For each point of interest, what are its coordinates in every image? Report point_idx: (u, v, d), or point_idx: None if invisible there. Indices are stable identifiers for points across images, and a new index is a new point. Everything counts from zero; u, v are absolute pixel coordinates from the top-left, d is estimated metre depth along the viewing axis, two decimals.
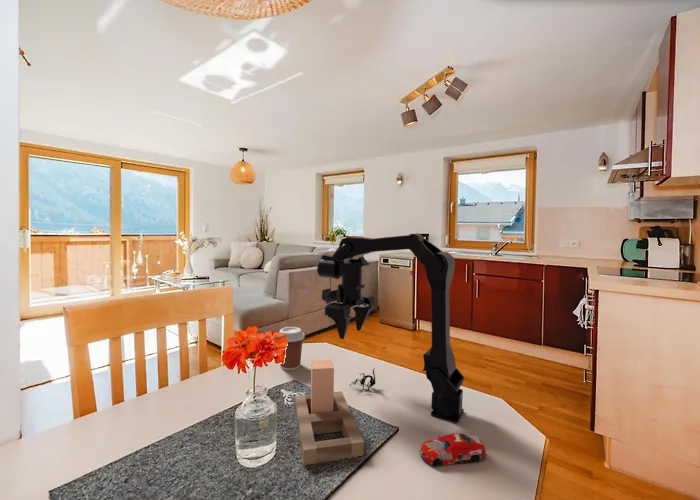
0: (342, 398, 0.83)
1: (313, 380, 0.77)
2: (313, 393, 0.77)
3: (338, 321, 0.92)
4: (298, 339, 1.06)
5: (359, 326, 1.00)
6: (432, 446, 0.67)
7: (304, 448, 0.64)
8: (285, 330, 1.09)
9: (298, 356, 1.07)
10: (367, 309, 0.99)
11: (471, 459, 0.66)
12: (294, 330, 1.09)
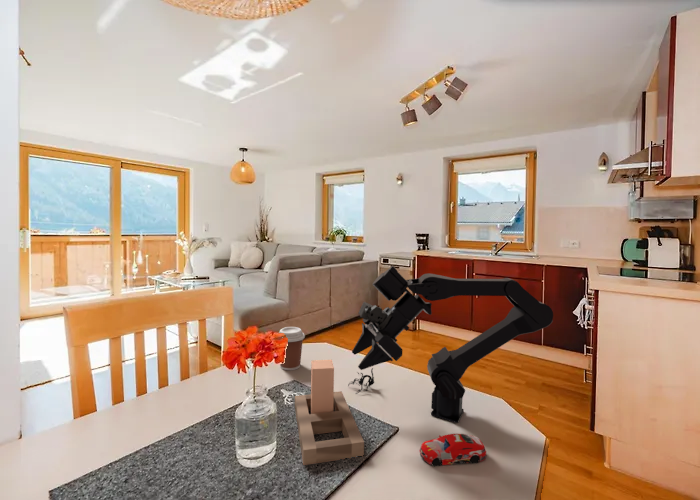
0: (342, 398, 0.83)
1: (313, 380, 0.77)
2: (313, 393, 0.77)
3: (375, 352, 0.75)
4: (298, 339, 1.06)
5: (358, 350, 0.85)
6: (432, 446, 0.67)
7: (304, 448, 0.64)
8: (285, 330, 1.09)
9: (298, 356, 1.07)
10: None
11: (471, 459, 0.66)
12: (294, 330, 1.09)
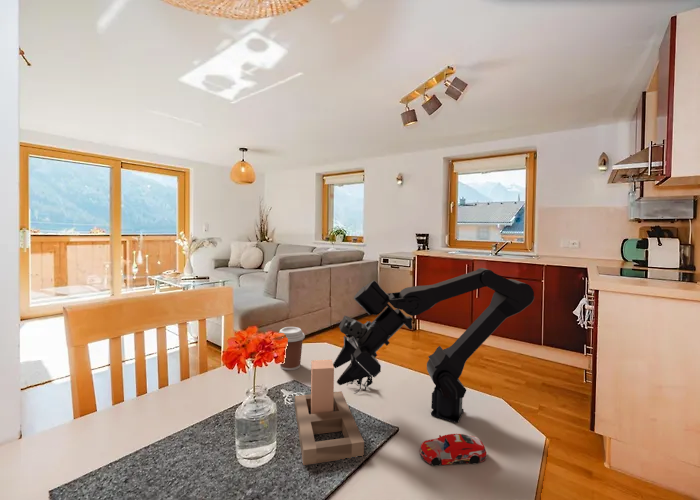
0: (342, 398, 0.83)
1: (313, 380, 0.77)
2: (313, 393, 0.77)
3: (353, 368, 0.75)
4: (298, 339, 1.06)
5: (338, 364, 0.85)
6: (432, 445, 0.67)
7: (304, 448, 0.64)
8: (285, 330, 1.09)
9: (298, 356, 1.07)
10: None
11: (471, 460, 0.65)
12: (294, 330, 1.09)
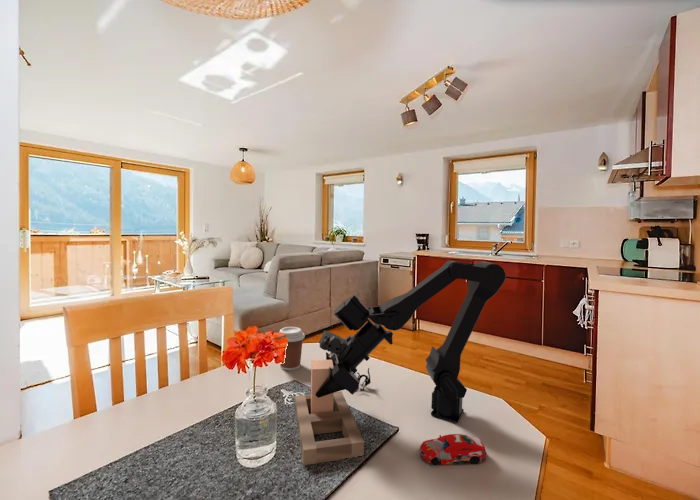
0: (342, 398, 0.83)
1: (313, 380, 0.77)
2: (313, 394, 0.77)
3: (331, 381, 0.76)
4: (298, 339, 1.06)
5: None
6: (431, 445, 0.67)
7: (304, 448, 0.64)
8: (285, 330, 1.09)
9: (298, 356, 1.07)
10: None
11: (471, 460, 0.65)
12: (294, 330, 1.09)
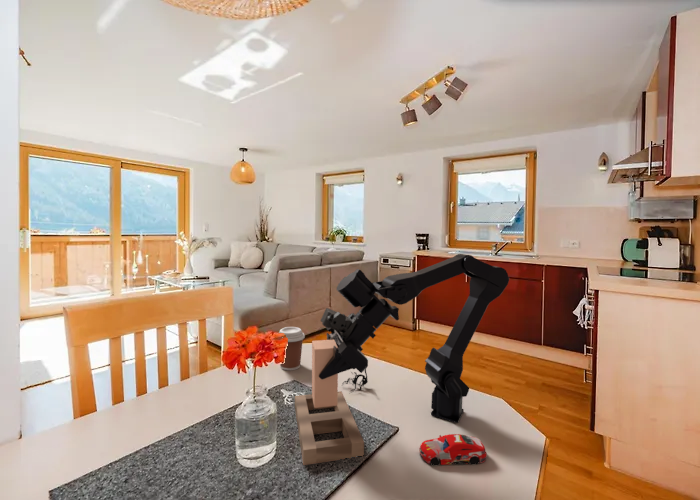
0: (342, 398, 0.83)
1: (316, 361, 0.71)
2: (316, 376, 0.71)
3: (336, 360, 0.71)
4: (298, 339, 1.06)
5: None
6: (431, 445, 0.67)
7: (304, 448, 0.64)
8: (285, 330, 1.09)
9: (298, 356, 1.07)
10: None
11: (470, 461, 0.65)
12: (294, 330, 1.09)
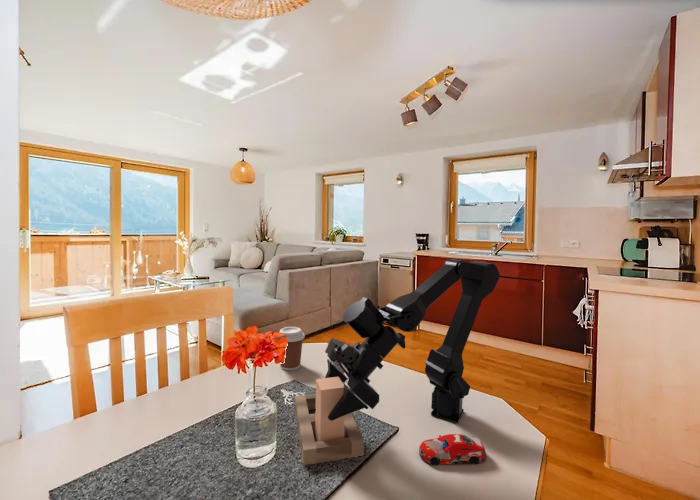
0: None
1: (322, 403, 0.67)
2: (322, 418, 0.68)
3: (347, 400, 0.65)
4: (298, 339, 1.06)
5: None
6: (431, 445, 0.67)
7: (304, 448, 0.64)
8: (285, 330, 1.09)
9: (298, 356, 1.07)
10: (345, 378, 0.77)
11: (470, 460, 0.65)
12: (294, 330, 1.09)
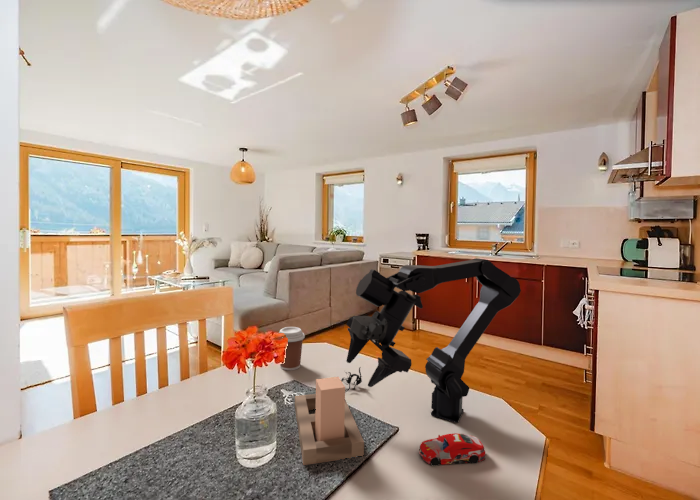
0: None
1: (322, 403, 0.67)
2: (322, 418, 0.68)
3: None
4: (298, 339, 1.06)
5: (352, 358, 0.81)
6: (431, 445, 0.67)
7: (304, 448, 0.64)
8: (285, 330, 1.09)
9: (298, 356, 1.07)
10: (367, 340, 0.83)
11: (470, 459, 0.66)
12: (294, 330, 1.09)
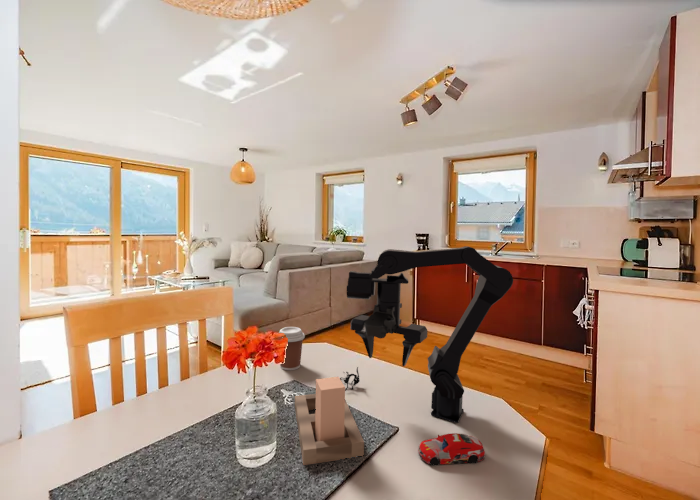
0: None
1: (322, 403, 0.67)
2: (322, 418, 0.68)
3: None
4: (298, 339, 1.06)
5: (372, 352, 0.87)
6: (430, 445, 0.67)
7: (304, 448, 0.64)
8: (285, 330, 1.09)
9: (298, 356, 1.07)
10: None
11: (469, 459, 0.66)
12: (294, 330, 1.09)
